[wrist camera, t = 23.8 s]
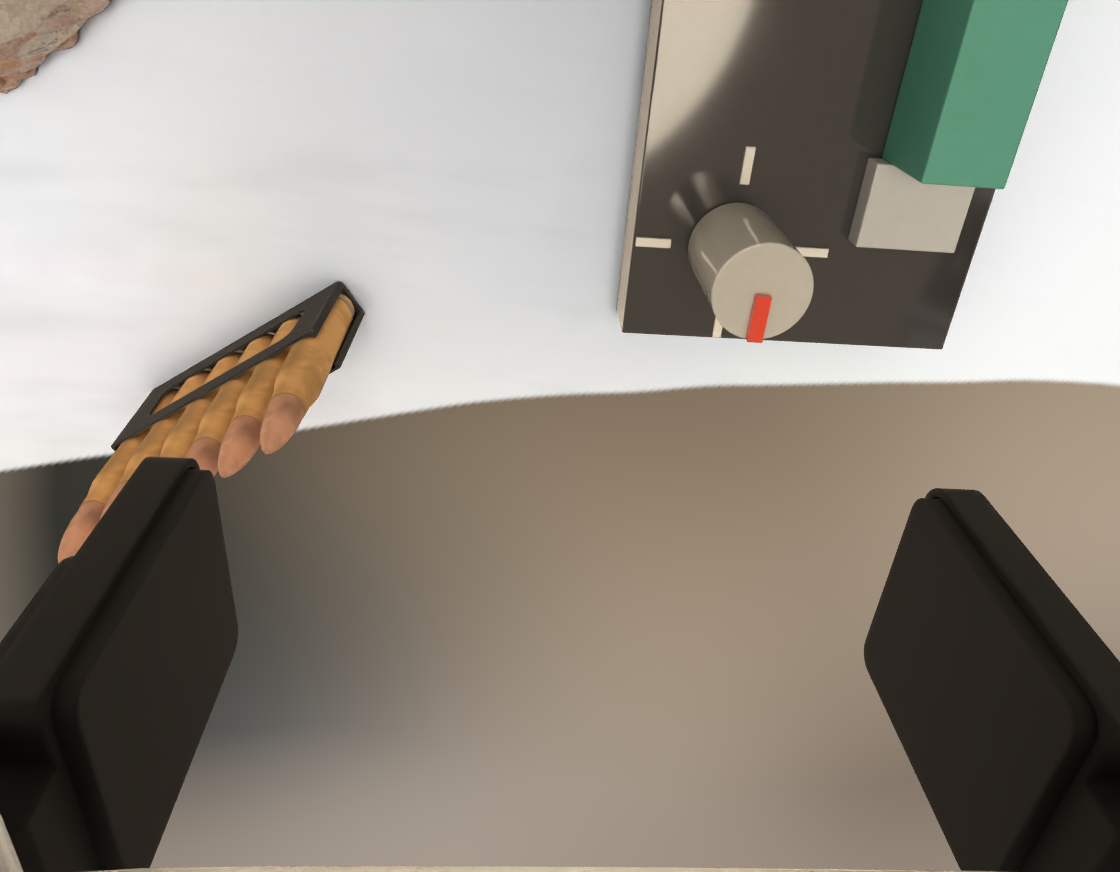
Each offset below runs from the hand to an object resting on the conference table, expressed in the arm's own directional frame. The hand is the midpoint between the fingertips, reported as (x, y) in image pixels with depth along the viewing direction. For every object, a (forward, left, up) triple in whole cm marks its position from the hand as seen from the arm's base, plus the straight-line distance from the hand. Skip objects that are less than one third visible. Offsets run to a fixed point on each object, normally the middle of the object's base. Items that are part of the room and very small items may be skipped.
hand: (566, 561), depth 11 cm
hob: (-2, +11, -26) cm, 29 cm away
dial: (+3, +8, -24) cm, 25 cm away
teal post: (-4, +15, -24) cm, 28 cm away
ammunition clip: (+10, -12, -26) cm, 31 cm away
